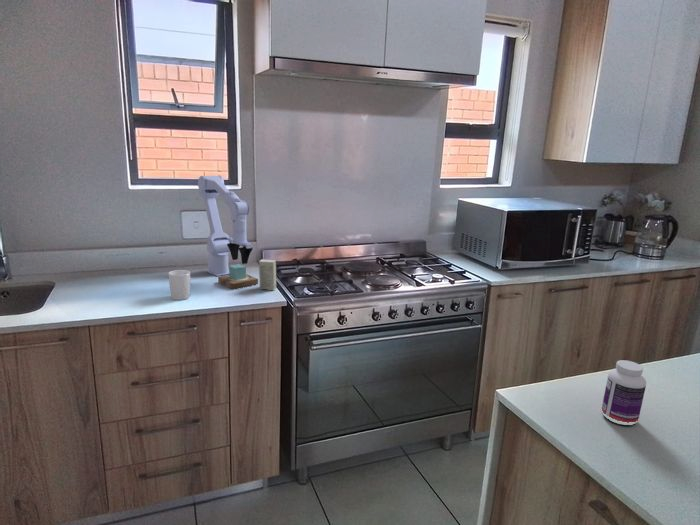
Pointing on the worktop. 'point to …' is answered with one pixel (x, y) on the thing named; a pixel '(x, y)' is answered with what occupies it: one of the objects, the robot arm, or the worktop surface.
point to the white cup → (179, 284)
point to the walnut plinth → (237, 282)
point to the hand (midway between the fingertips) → (239, 261)
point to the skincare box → (267, 274)
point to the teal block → (237, 272)
